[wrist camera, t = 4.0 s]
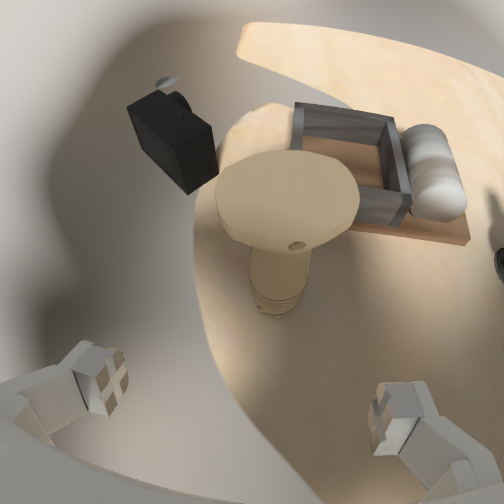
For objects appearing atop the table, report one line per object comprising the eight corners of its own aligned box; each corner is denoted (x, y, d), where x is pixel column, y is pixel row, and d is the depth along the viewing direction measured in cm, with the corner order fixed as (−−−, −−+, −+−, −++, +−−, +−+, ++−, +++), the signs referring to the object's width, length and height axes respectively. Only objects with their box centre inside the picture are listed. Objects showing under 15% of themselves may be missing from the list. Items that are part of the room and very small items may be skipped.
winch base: (464, 245, 29) (496, 211, 23) (284, 222, 31) (288, 176, 25) (443, 164, 35) (464, 127, 29) (291, 138, 36) (295, 92, 30)
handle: (235, 279, 28) (213, 157, 15) (307, 271, 28) (342, 147, 15) (240, 333, 26) (218, 245, 13) (317, 323, 26) (372, 228, 13)
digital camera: (228, 169, 34) (223, 120, 28) (188, 196, 33) (174, 148, 27) (177, 127, 38) (167, 83, 32) (142, 149, 36) (125, 106, 30)
